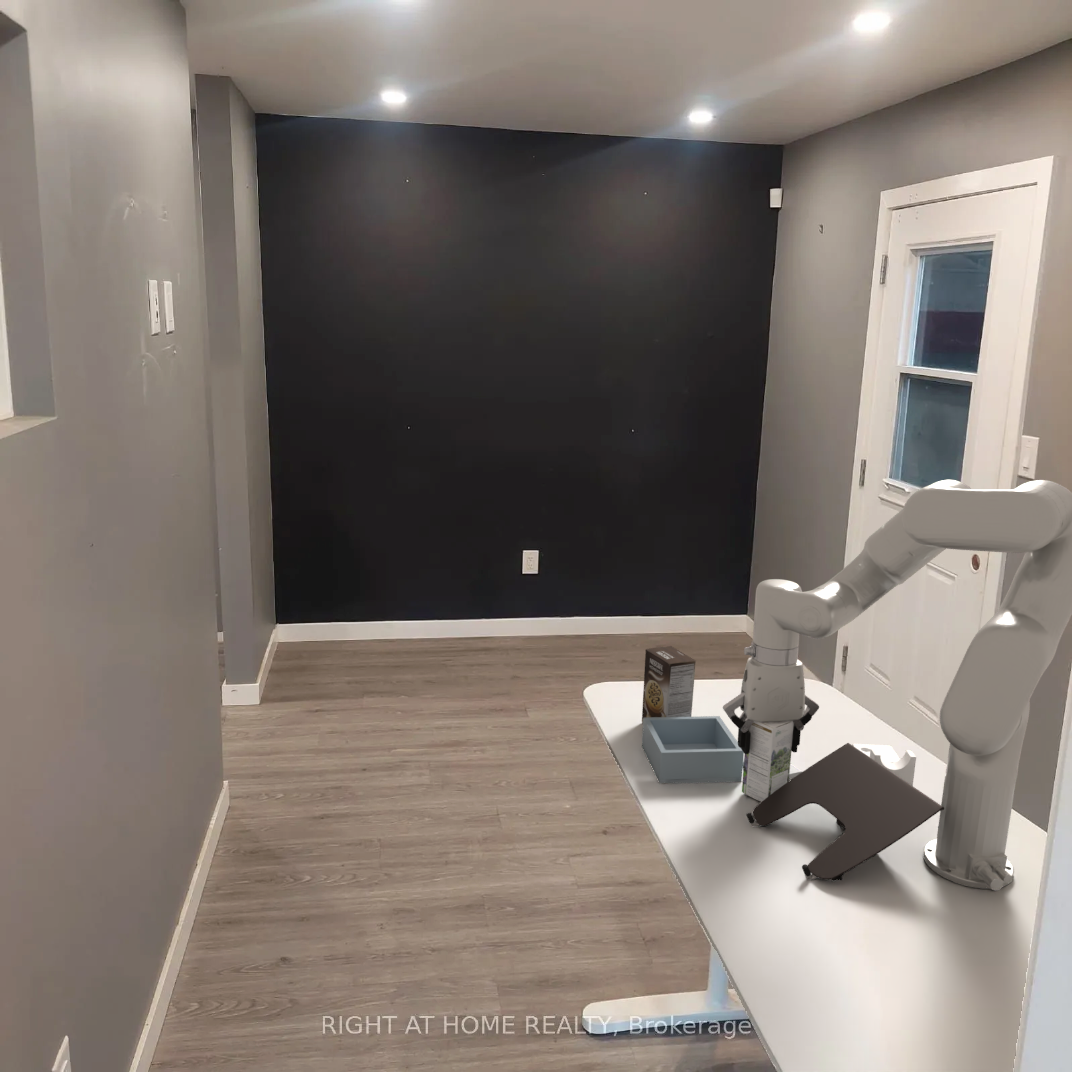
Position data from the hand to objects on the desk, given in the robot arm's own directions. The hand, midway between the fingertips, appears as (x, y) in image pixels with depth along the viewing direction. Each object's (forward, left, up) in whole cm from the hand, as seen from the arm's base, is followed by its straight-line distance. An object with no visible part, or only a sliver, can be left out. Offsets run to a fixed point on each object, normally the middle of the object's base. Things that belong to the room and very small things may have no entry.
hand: (768, 749), depth 163 cm
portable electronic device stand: (-15, -6, -9) cm, 19 cm away
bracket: (+6, -24, -9) cm, 26 cm away
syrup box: (0, 0, -9) cm, 9 cm away
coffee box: (+28, +11, -9) cm, 31 cm away
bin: (+13, +10, -9) cm, 18 cm away
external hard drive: (+12, -4, -10) cm, 16 cm away
